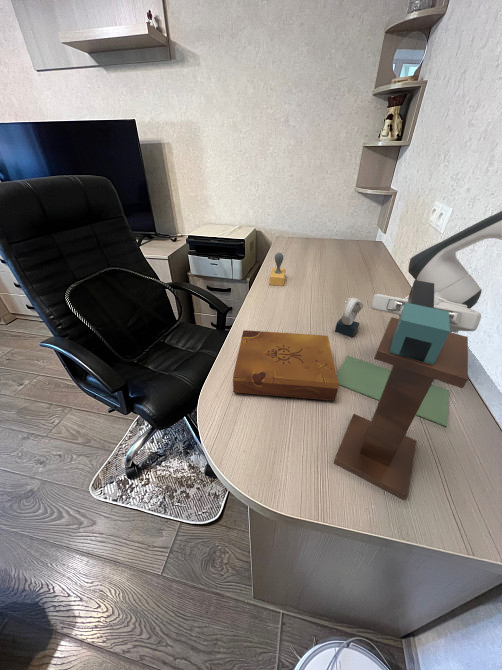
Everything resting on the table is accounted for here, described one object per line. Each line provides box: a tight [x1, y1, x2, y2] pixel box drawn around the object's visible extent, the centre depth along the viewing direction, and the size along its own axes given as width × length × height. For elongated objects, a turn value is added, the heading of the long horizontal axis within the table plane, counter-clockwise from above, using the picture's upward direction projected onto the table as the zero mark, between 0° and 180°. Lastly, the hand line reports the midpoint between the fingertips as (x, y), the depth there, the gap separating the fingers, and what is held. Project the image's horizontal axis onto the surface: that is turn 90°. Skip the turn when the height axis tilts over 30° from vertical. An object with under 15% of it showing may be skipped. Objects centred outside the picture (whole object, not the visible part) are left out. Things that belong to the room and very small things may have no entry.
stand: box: [333, 316, 469, 501], centre depth 45 cm, size 12×12×26 cm
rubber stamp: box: [269, 252, 287, 287], centre depth 114 cm, size 10×6×12 cm, turn 171°
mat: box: [336, 355, 450, 428], centre depth 66 cm, size 24×12×1 cm, turn 57°
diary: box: [232, 329, 339, 402], centre depth 69 cm, size 23×19×6 cm
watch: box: [334, 297, 364, 339], centre depth 83 cm, size 6×8×11 cm
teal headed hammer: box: [390, 279, 450, 365], centre depth 40 cm, size 5×19×5 cm, turn 151°
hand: (423, 311), depth 54 cm, fingers open, 8 cm apart
